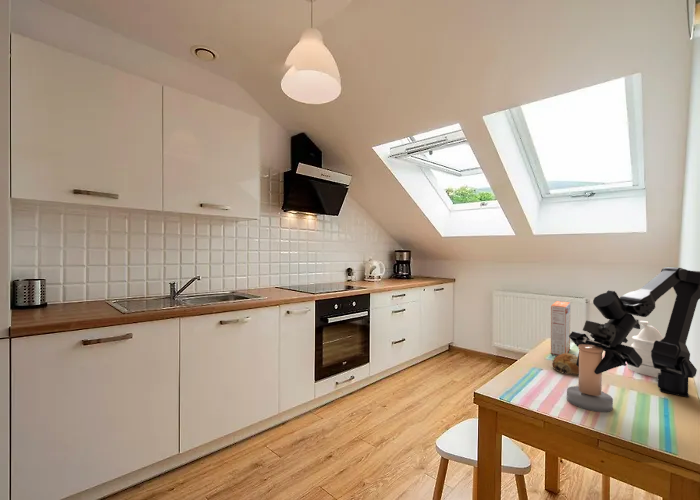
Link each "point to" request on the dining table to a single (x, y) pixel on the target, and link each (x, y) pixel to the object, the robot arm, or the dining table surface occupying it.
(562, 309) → the cracker box
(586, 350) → the tan cylindrical canister
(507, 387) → the dining table surface
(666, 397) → the dining table surface
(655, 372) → the honey pot
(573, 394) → the round gray base plate
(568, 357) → the bread roll
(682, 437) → the dining table surface
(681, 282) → the robot arm
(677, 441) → the dining table surface
